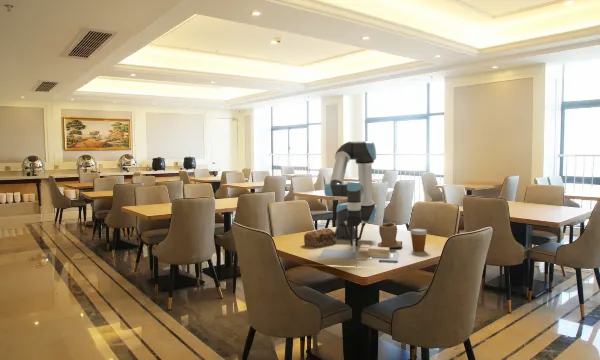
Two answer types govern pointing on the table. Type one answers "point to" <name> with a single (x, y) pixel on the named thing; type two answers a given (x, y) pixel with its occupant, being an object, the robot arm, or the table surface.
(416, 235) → the disposable coffee cup
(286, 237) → the table surface
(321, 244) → the bread
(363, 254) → the t block
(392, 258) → the t board
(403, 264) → the table surface
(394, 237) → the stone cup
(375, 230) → the table surface
